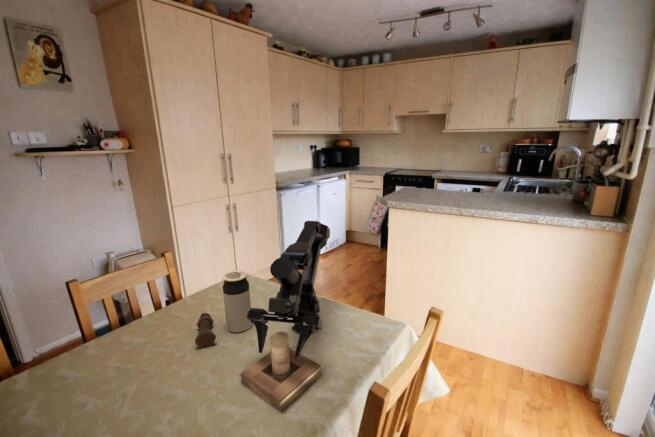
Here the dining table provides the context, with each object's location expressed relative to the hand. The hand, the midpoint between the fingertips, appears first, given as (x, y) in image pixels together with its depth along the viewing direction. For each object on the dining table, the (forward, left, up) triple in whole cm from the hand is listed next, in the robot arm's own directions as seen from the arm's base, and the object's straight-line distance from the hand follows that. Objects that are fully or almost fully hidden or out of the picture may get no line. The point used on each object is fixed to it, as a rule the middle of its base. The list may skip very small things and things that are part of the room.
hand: (278, 355), depth 75 cm
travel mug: (-9, -29, -8) cm, 31 cm away
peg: (-1, -1, -8) cm, 8 cm away
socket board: (-1, -1, -8) cm, 8 cm away
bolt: (0, -34, -8) cm, 35 cm away
